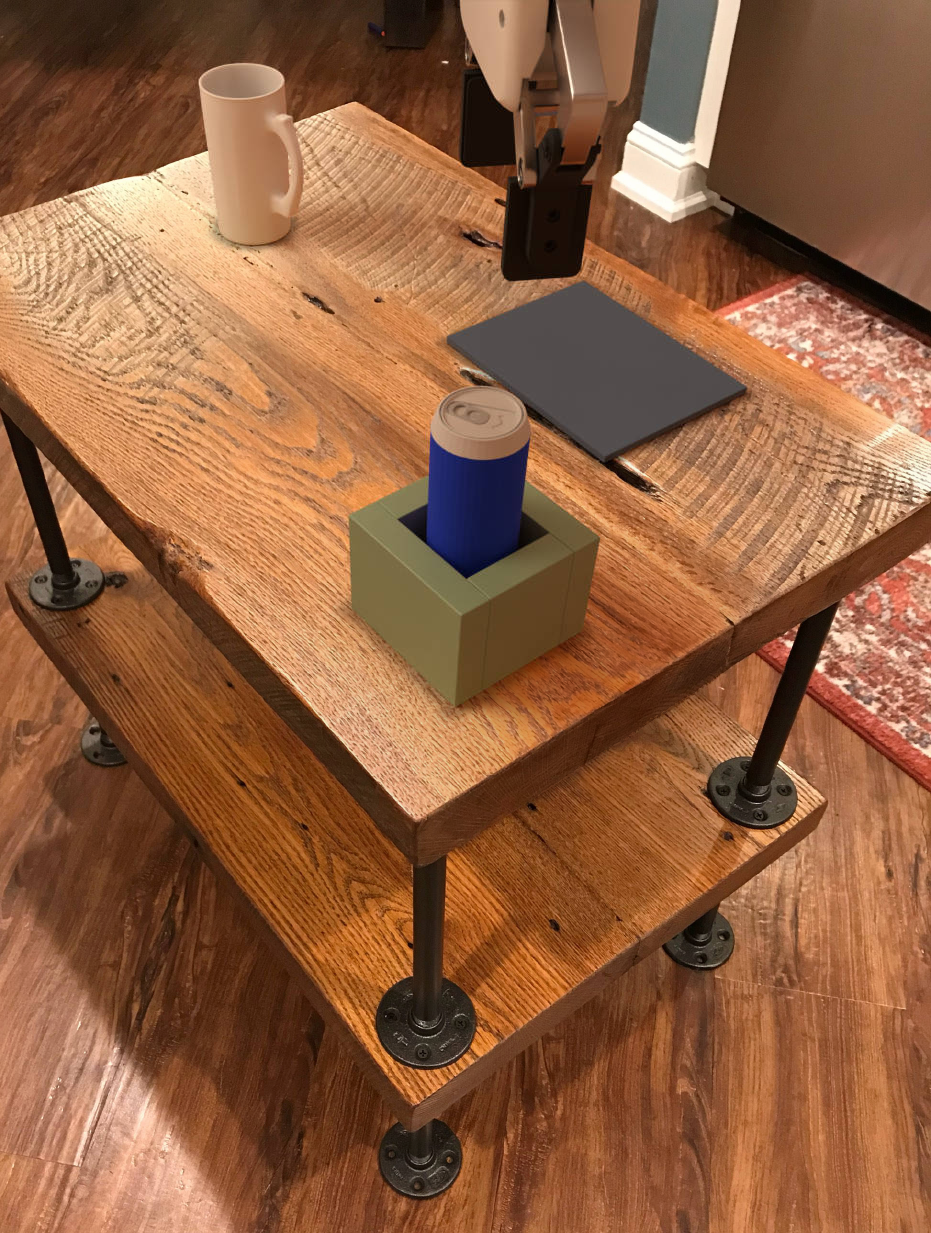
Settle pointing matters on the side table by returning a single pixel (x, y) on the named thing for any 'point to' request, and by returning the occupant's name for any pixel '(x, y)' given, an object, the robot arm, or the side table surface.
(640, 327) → the mat
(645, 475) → the side table surface
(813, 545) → the side table surface
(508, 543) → the beverage can
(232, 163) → the mug
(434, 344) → the side table surface
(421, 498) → the can holder
